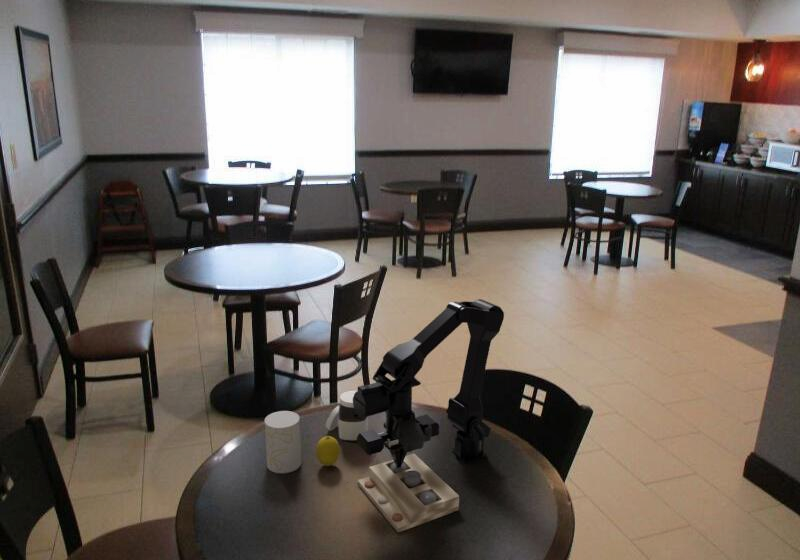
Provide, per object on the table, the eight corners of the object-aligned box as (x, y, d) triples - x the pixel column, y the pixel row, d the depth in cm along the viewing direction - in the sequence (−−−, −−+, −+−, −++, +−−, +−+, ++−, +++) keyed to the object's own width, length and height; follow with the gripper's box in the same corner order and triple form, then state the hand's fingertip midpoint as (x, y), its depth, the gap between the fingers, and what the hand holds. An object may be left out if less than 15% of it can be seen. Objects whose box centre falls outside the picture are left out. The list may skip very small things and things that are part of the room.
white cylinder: (260, 468, 147) (257, 423, 144) (279, 451, 154) (276, 408, 151) (289, 476, 144) (287, 430, 141) (307, 458, 151) (305, 414, 148)
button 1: (401, 468, 145) (401, 460, 145) (408, 476, 142) (408, 468, 142) (387, 472, 143) (387, 464, 143) (395, 480, 140) (395, 472, 140)
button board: (413, 466, 148) (414, 453, 148) (458, 510, 133) (459, 496, 132) (357, 483, 141) (357, 470, 140) (397, 532, 125) (398, 518, 125)
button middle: (415, 477, 139) (415, 468, 139) (423, 485, 136) (423, 476, 136) (401, 481, 138) (401, 473, 137) (409, 490, 135) (409, 481, 134)
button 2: (430, 498, 134) (430, 489, 134) (439, 507, 131) (439, 498, 131) (416, 503, 133) (416, 494, 132) (425, 513, 130) (425, 504, 129)
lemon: (336, 473, 145) (335, 443, 143) (313, 470, 146) (312, 440, 144) (342, 460, 150) (342, 431, 148) (321, 458, 151) (320, 429, 149)
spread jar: (367, 447, 156) (366, 406, 153) (322, 446, 157) (321, 405, 153) (369, 423, 168) (369, 384, 165) (328, 423, 168) (327, 384, 165)
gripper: (378, 432, 127) (378, 497, 131) (453, 411, 136) (451, 473, 140) (355, 409, 136) (356, 470, 140) (427, 391, 145) (425, 449, 149)
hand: (398, 466), depth 142 cm, fingers closed, pressing on button 1
